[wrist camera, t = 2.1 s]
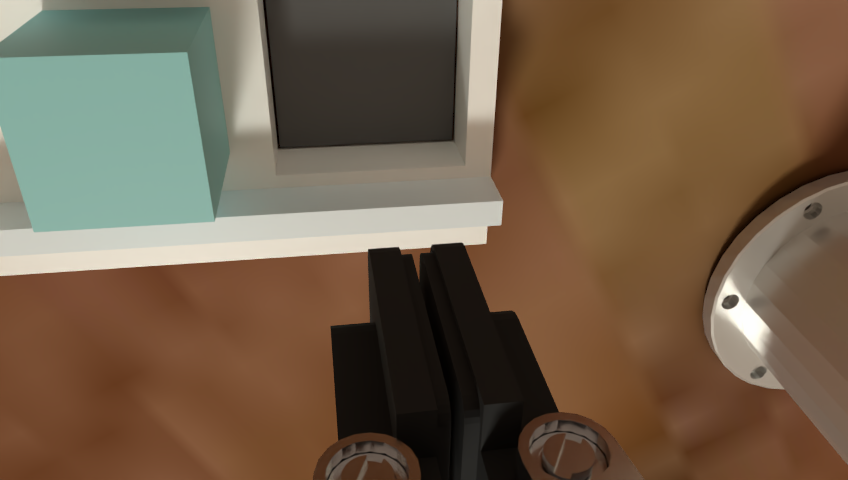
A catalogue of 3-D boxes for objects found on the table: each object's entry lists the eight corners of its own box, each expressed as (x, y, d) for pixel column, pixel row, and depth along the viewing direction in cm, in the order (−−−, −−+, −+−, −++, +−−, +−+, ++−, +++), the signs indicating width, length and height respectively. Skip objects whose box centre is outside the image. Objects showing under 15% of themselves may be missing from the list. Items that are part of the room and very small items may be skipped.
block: (209, 6, 22) (187, 52, 18) (229, 152, 25) (214, 221, 21) (42, 10, 22) (-22, 58, 18) (80, 159, 24) (33, 232, 20)
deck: (493, -157, 23) (530, -151, 20) (473, 213, 31) (497, 270, 27) (-484, -165, 20) (-671, -159, 16) (-245, 257, 27) (-335, 330, 23)
